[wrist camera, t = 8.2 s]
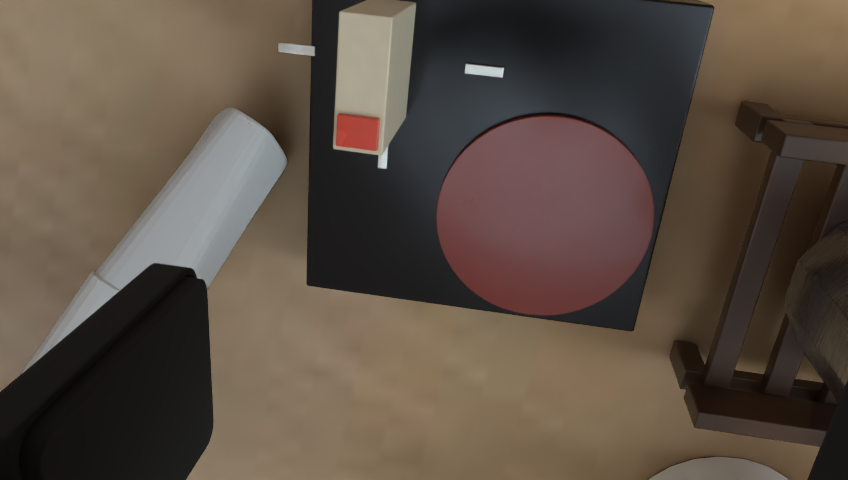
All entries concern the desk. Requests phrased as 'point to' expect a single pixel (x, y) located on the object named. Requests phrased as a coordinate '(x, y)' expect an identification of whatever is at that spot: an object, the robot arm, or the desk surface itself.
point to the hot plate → (545, 214)
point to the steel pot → (823, 307)
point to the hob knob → (372, 74)
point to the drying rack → (718, 380)
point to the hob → (484, 109)
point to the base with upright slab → (718, 470)
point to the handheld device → (188, 215)
